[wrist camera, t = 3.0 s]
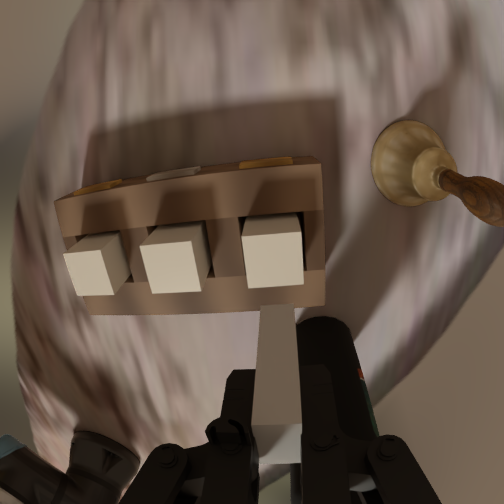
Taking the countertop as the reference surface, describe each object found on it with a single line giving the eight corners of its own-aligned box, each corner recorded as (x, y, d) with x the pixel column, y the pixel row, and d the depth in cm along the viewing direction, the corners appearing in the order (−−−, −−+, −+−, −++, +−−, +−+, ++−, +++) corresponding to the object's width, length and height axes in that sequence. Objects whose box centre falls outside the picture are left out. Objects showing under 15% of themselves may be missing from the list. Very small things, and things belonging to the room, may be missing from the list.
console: (109, 290, 33) (89, 314, 29) (80, 185, 29) (52, 198, 24) (317, 278, 31) (325, 305, 27) (312, 152, 26) (320, 159, 22)
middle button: (169, 265, 28) (152, 293, 24) (160, 223, 27) (139, 246, 22) (212, 262, 28) (201, 291, 23) (205, 218, 26) (191, 241, 22)
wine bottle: (320, 304, 32) (367, 621, 5) (364, 338, 34) (428, 598, 7) (272, 345, 35) (262, 625, 8) (317, 375, 37) (337, 616, 9)
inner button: (101, 270, 29) (77, 295, 24) (90, 232, 27) (62, 253, 23) (136, 267, 28) (114, 294, 24) (125, 227, 27) (100, 249, 22)
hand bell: (405, 222, 28) (497, 313, 14) (352, 160, 26) (439, 211, 12) (459, 168, 26) (574, 221, 11) (412, 102, 24) (532, 104, 9)
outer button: (252, 259, 27) (248, 288, 23) (246, 214, 26) (241, 236, 21) (298, 255, 27) (303, 284, 22) (295, 210, 25) (301, 231, 21)
